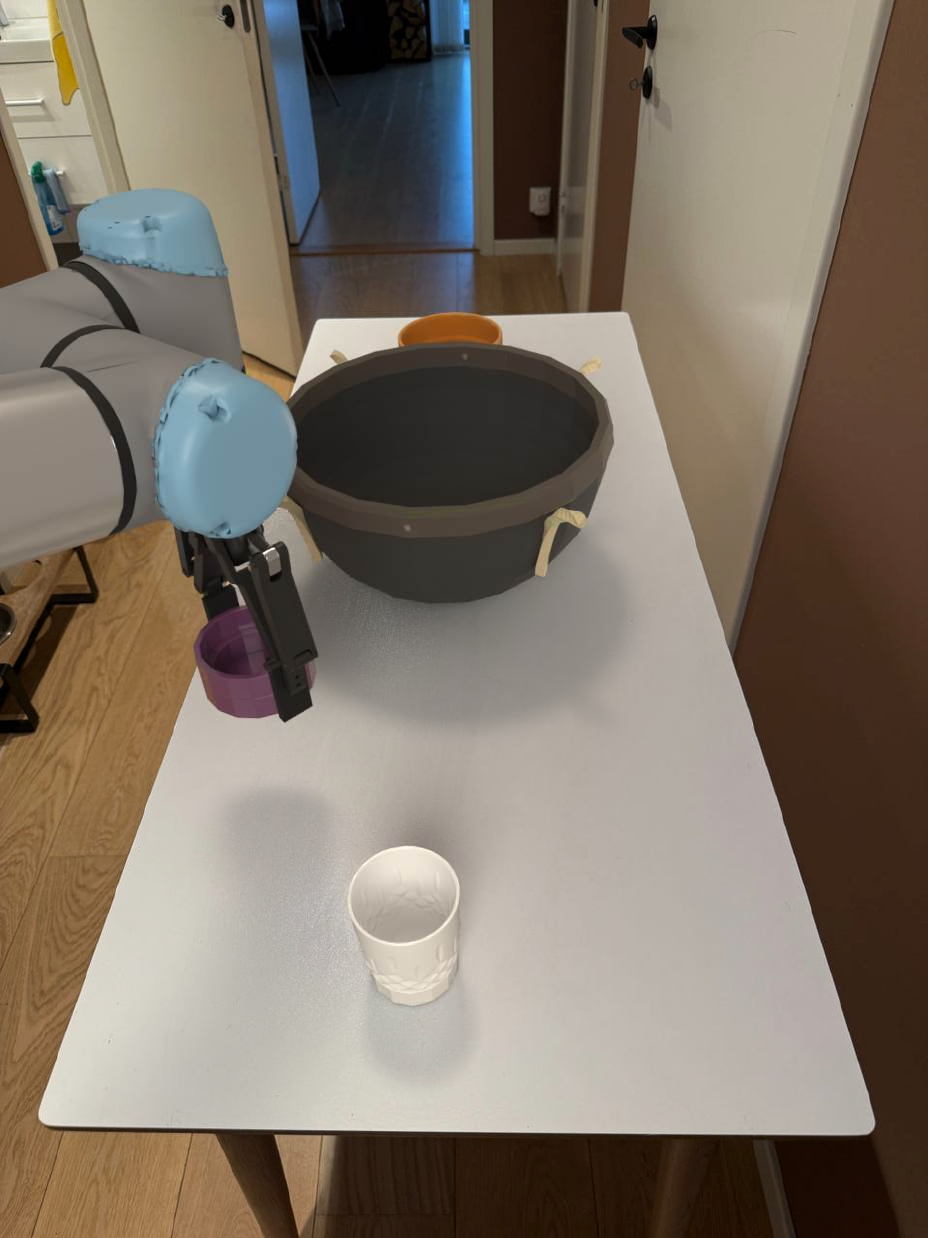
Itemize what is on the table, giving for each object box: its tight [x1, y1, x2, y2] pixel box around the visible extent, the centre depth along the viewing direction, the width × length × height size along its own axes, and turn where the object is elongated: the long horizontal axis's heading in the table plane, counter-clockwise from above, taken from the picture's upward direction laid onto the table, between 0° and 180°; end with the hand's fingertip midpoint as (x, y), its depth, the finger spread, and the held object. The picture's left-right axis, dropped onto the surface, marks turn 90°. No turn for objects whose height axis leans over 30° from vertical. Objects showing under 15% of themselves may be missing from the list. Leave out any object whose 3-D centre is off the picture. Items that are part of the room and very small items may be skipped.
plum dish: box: [192, 604, 317, 720], centre depth 75 cm, size 9×9×5 cm
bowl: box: [278, 341, 615, 605], centre depth 101 cm, size 35×35×20 cm
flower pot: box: [397, 311, 504, 347], centre depth 129 cm, size 14×14×13 cm
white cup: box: [346, 845, 461, 1007], centre depth 68 cm, size 8×8×10 cm
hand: (264, 680), depth 77 cm, fingers closed on plum dish, 9 cm apart
